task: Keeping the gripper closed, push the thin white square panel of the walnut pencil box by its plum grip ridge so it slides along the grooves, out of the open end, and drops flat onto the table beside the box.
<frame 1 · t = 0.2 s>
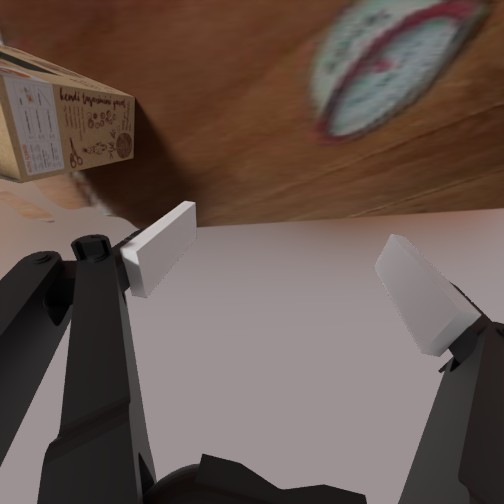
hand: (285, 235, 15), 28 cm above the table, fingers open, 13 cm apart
box: (79, 91, 38), on the table
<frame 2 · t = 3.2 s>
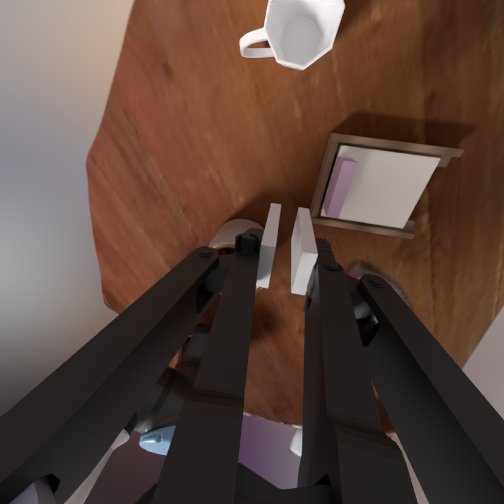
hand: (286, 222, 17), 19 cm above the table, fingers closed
pencil case: (368, 184, 32), on the table
cup: (287, 49, 26), on the table
planter: (243, 243, 41), on the table
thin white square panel: (372, 188, 30), point 3 cm above the table, touching pencil case
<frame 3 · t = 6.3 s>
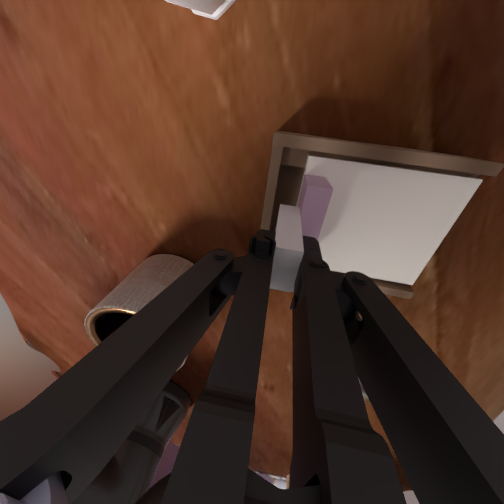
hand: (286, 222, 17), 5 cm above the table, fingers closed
pencil case: (342, 211, 21), on the table
planter: (178, 283, 30), on the table
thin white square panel: (363, 223, 18), point 3 cm above the table, touching gripper, pencil case
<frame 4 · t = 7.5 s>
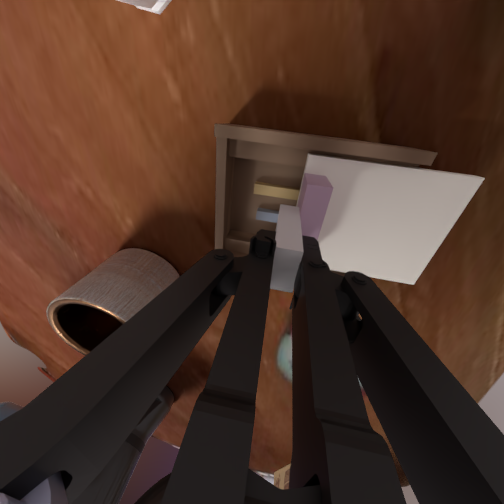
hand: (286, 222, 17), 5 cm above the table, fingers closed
pencil case: (299, 203, 21), on the table
box: (297, 466, 59), on the table
planter: (150, 278, 30), on the table
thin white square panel: (364, 222, 18), point 3 cm above the table, touching gripper, pencil case
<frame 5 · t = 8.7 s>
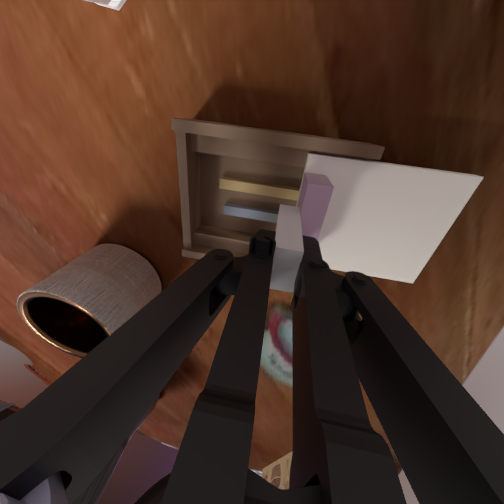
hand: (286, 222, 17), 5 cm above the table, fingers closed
pencil case: (266, 198, 21), on the table
box: (285, 462, 59), on the table
planter: (128, 273, 30), on the table
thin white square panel: (364, 222, 18), point 3 cm above the table, touching gripper, pencil case
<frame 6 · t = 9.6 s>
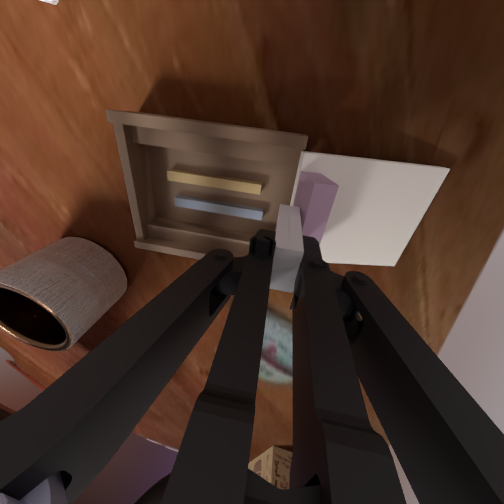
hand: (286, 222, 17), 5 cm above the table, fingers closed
pencil case: (217, 191, 22), on the table
box: (267, 458, 59), on the table
planter: (95, 267, 31), on the table
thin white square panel: (352, 215, 19), point 1 cm above the table, tilted 13°, touching gripper
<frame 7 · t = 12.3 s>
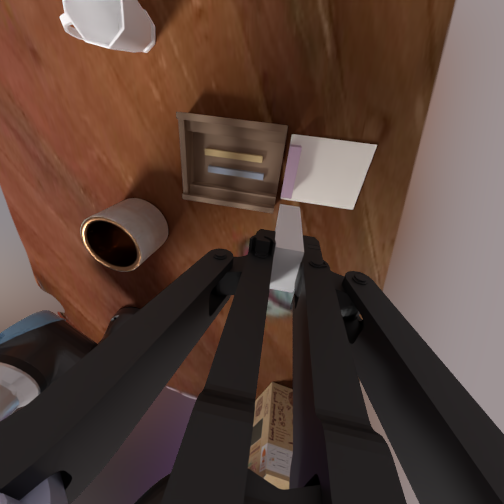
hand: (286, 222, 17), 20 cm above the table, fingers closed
pencil case: (234, 162, 34), on the table
cup: (131, 34, 28), on the table
box: (267, 397, 72), on the table
planter: (145, 222, 43), on the table
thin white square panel: (323, 173, 34), on the table
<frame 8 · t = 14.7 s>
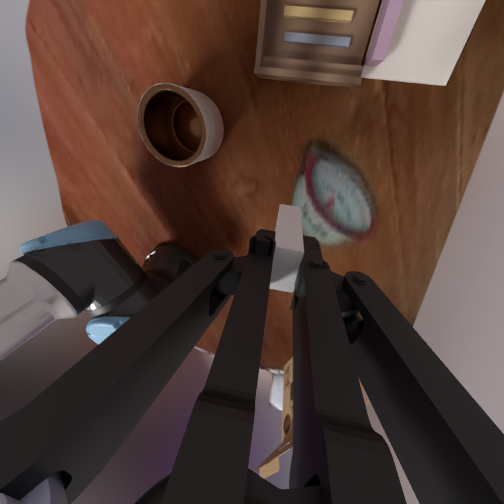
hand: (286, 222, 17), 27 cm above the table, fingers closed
pencil case: (314, 29, 30), on the table
box: (305, 353, 68), on the table
planter: (196, 127, 39), on the table
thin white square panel: (416, 38, 29), on the table
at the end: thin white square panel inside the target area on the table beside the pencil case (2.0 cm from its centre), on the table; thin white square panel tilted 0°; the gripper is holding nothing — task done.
